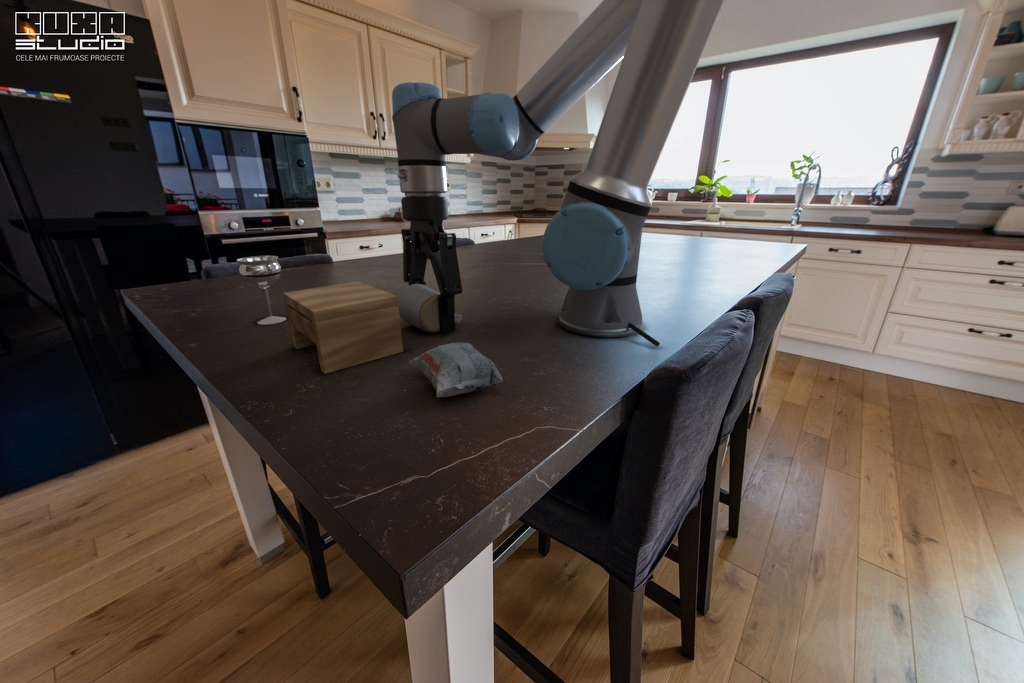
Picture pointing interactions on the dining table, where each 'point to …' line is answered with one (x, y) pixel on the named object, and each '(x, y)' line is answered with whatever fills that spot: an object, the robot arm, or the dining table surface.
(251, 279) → the wineglass
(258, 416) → the dining table surface
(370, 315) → the oak stool
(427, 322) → the ceramic mug
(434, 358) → the packaged food
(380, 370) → the dining table surface
